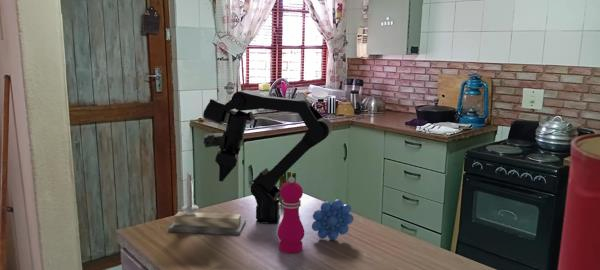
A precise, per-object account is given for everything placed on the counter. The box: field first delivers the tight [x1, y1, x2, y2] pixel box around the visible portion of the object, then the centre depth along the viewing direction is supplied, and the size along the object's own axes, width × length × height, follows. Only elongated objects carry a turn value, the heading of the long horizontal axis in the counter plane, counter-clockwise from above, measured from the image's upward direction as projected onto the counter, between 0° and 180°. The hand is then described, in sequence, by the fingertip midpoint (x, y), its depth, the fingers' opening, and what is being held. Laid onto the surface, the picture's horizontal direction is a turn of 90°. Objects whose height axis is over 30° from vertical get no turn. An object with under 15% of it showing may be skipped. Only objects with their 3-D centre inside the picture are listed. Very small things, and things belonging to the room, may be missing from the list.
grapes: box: [311, 198, 354, 241], centre depth 130 cm, size 12×7×12 cm, turn 85°
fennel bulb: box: [277, 170, 297, 205], centre depth 157 cm, size 6×5×12 cm
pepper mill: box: [276, 176, 305, 254], centre depth 122 cm, size 7×7×20 cm
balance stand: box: [167, 211, 247, 236], centre depth 137 cm, size 21×9×4 cm, turn 85°
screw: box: [181, 172, 199, 216], centre depth 136 cm, size 13×5×5 cm
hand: (222, 176), depth 145 cm, fingers open, 9 cm apart
